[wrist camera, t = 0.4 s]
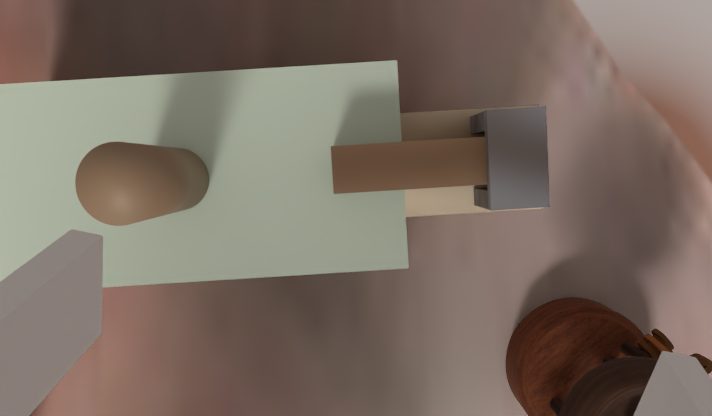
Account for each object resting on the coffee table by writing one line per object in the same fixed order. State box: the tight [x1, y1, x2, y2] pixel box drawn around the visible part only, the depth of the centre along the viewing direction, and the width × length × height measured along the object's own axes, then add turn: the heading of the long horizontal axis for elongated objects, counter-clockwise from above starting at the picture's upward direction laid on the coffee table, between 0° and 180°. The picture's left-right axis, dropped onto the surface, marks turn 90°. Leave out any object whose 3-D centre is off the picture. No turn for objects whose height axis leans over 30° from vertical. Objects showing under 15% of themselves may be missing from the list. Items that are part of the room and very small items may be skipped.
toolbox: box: [400, 105, 550, 217], centre depth 39 cm, size 12×34×16 cm, turn 93°
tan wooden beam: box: [331, 137, 487, 194], centre depth 33 cm, size 2×10×3 cm, turn 93°
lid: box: [0, 60, 409, 288], centre depth 31 cm, size 12×26×11 cm, turn 94°
